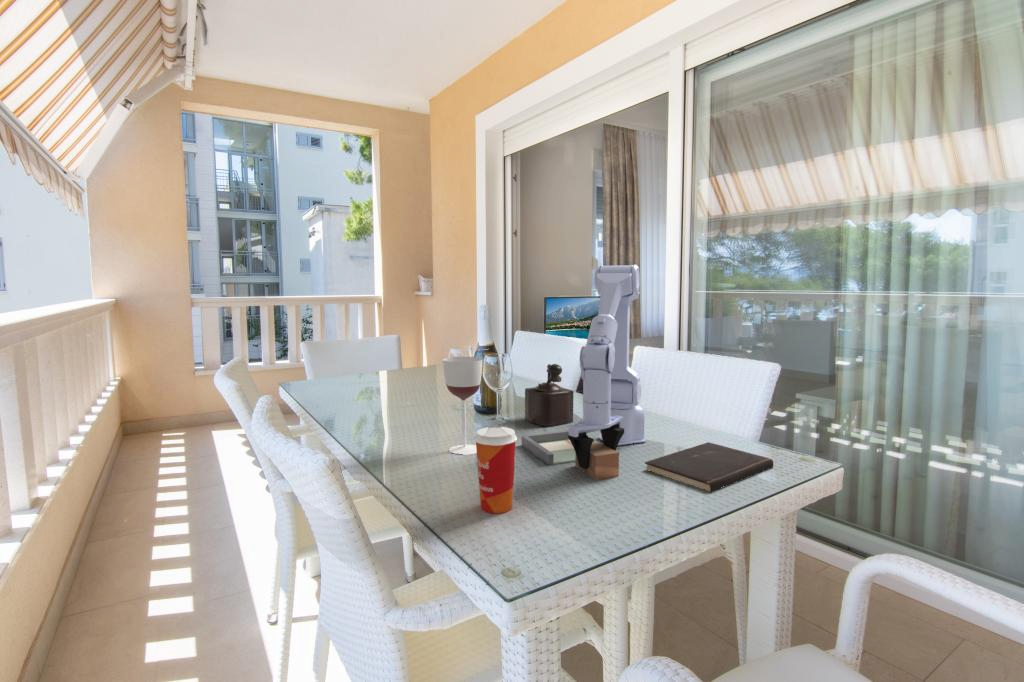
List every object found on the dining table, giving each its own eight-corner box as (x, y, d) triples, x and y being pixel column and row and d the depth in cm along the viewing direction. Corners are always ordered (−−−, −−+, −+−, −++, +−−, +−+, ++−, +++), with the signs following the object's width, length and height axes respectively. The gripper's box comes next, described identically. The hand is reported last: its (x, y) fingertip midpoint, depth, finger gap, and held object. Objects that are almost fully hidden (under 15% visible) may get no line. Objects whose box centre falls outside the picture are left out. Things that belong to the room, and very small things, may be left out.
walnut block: (575, 466, 121) (575, 443, 121) (597, 462, 123) (597, 441, 122) (595, 479, 113) (595, 456, 112) (618, 476, 115) (618, 452, 114)
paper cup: (474, 499, 103) (473, 426, 101) (515, 498, 104) (515, 425, 102) (475, 517, 95) (474, 438, 94) (520, 515, 96) (519, 437, 94)
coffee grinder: (521, 420, 161) (521, 358, 159) (553, 415, 166) (552, 355, 164) (553, 432, 148) (552, 365, 146) (585, 426, 153) (585, 362, 151)
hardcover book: (644, 472, 118) (644, 462, 118) (707, 451, 132) (708, 442, 132) (710, 495, 105) (711, 483, 105) (773, 469, 119) (773, 459, 119)
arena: (579, 437, 142) (579, 428, 142) (611, 456, 127) (612, 446, 127) (521, 445, 136) (521, 435, 136) (548, 465, 122) (548, 454, 121)
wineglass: (469, 457, 127) (468, 363, 125) (437, 451, 132) (435, 360, 130) (491, 447, 135) (489, 358, 132) (459, 442, 140) (457, 355, 137)
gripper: (606, 393, 124) (605, 452, 125) (558, 402, 115) (558, 465, 116) (631, 398, 118) (630, 460, 120) (582, 408, 109) (582, 475, 111)
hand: (596, 463), depth 118 cm, fingers open, 7 cm apart
